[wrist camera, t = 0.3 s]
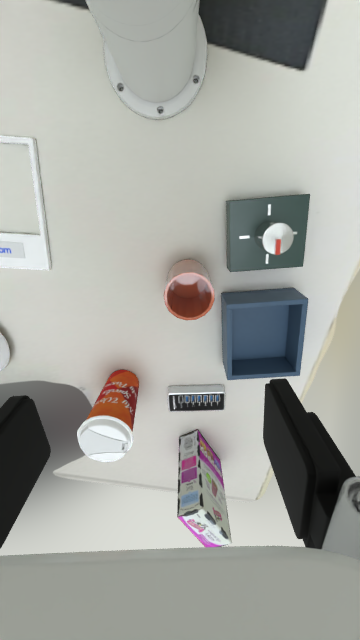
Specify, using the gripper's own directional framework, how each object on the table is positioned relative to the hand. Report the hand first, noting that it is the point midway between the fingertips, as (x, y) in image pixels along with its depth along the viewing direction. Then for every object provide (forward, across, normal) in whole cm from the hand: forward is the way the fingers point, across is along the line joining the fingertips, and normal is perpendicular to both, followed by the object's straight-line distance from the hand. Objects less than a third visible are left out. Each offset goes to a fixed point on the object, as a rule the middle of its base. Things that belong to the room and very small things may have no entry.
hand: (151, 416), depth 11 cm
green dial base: (+36, -14, -3) cm, 38 cm away
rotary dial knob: (+33, -14, -3) cm, 36 cm away
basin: (+36, -13, +13) cm, 40 cm away
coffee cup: (+36, +12, +23) cm, 45 cm away
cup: (+36, -2, +4) cm, 36 cm away
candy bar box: (+36, -2, +42) cm, 56 cm away
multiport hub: (+36, -2, +27) cm, 45 cm away
